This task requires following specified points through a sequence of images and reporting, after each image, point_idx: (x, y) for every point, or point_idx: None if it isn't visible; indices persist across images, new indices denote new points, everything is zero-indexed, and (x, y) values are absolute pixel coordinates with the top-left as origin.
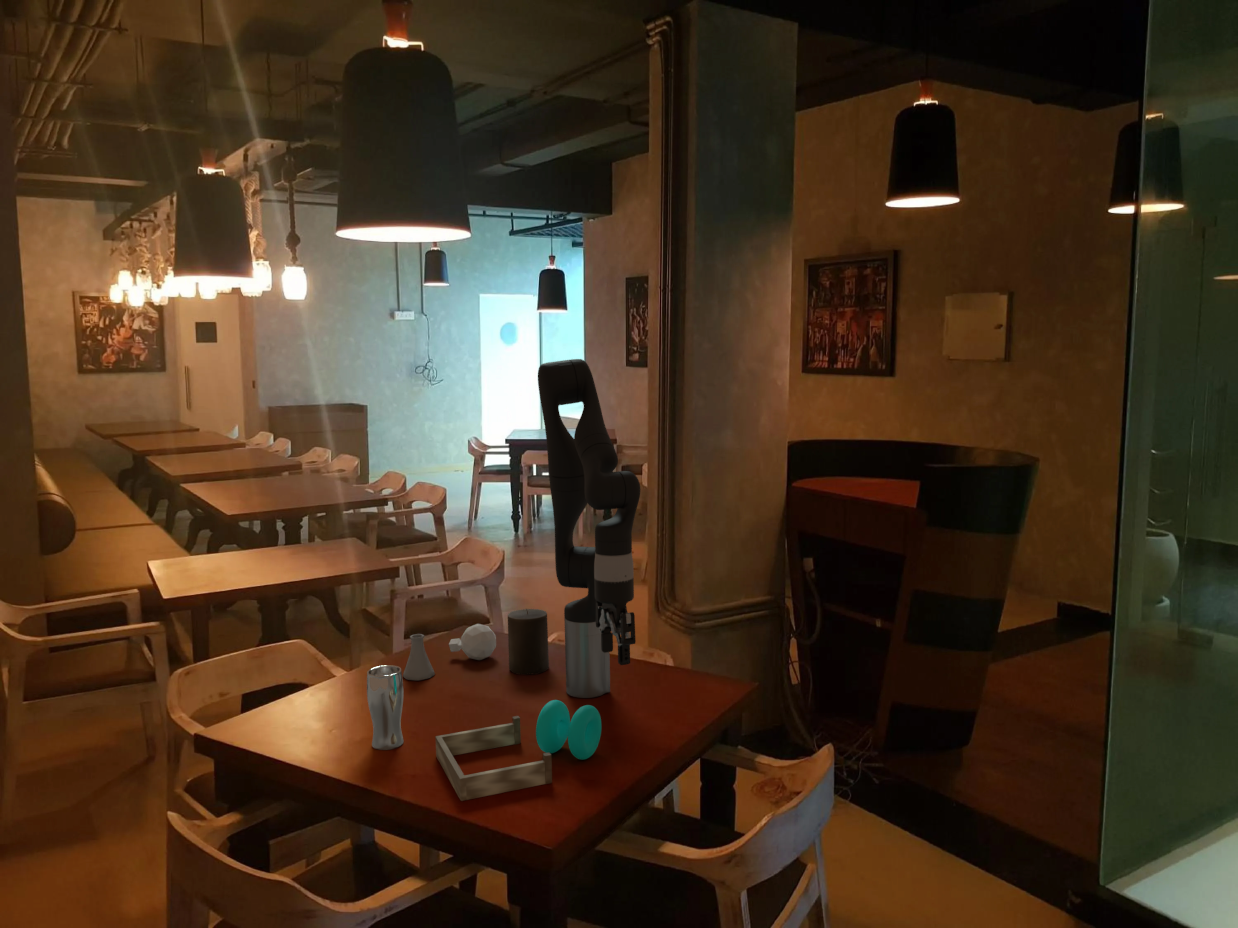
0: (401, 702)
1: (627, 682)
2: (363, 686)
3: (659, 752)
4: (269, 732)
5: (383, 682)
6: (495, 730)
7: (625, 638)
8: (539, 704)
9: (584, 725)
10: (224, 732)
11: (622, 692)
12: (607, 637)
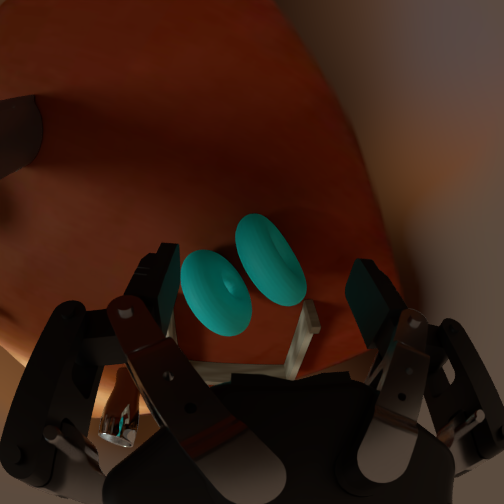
0: (127, 408)
1: (17, 58)
2: (10, 340)
3: (325, 121)
4: (95, 404)
5: (134, 439)
6: (170, 335)
7: (444, 374)
8: (46, 218)
9: (304, 286)
10: (93, 413)
11: (42, 73)
12: (164, 307)
